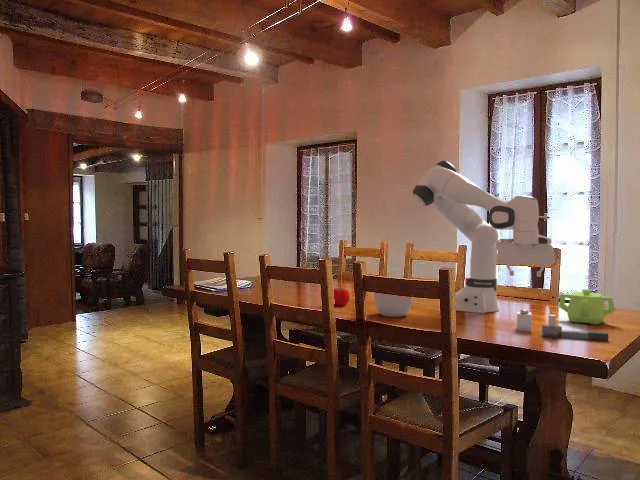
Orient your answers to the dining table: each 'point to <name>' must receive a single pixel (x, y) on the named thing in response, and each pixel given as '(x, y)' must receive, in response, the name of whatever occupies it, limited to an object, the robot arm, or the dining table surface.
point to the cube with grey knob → (524, 320)
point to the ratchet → (570, 332)
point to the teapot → (586, 307)
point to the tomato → (341, 296)
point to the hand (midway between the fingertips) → (525, 276)
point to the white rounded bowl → (392, 305)
